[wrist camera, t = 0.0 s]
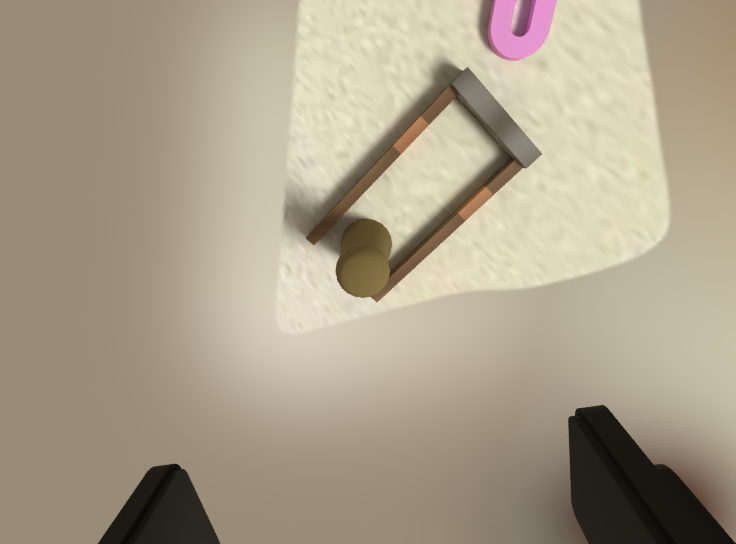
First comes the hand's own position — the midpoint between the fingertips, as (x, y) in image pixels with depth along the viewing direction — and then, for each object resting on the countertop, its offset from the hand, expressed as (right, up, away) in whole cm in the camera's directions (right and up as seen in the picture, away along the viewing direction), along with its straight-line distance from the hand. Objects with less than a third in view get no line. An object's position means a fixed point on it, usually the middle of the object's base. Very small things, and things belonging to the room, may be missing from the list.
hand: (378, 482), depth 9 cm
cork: (0, +8, +37) cm, 38 cm away
